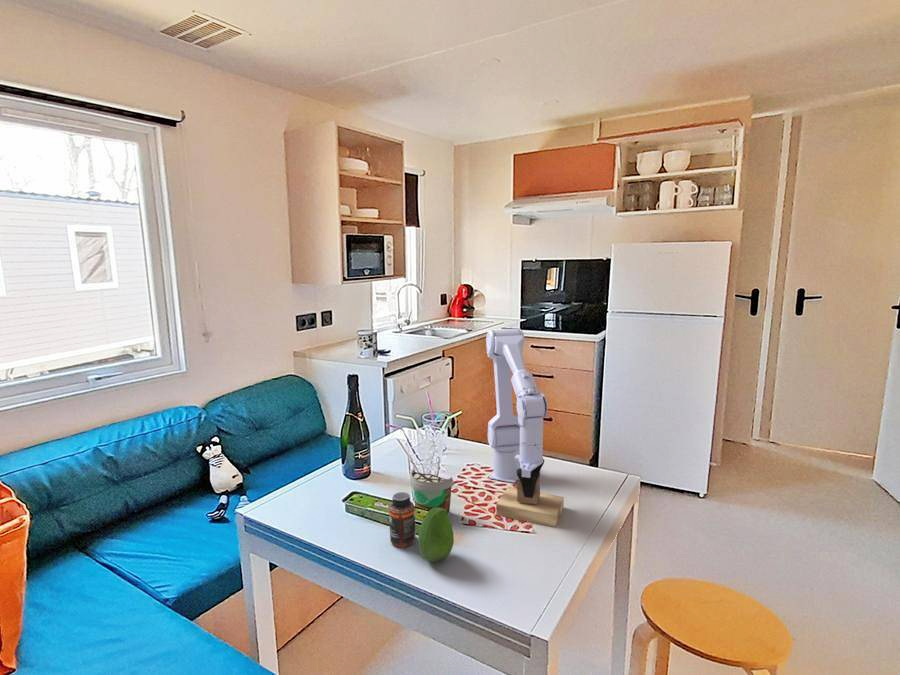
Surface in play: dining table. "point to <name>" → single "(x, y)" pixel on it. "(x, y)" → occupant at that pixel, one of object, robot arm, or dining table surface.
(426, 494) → the food container
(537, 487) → the walnut block
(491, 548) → the dining table surface
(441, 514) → the avocado
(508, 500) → the oak block
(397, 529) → the supplement bottle
